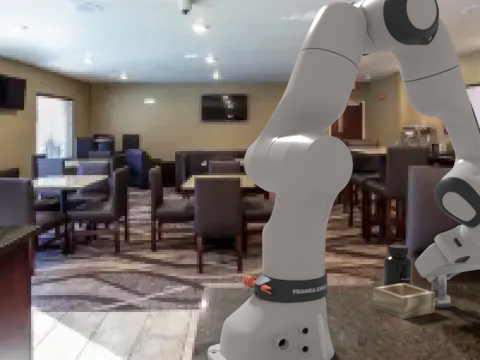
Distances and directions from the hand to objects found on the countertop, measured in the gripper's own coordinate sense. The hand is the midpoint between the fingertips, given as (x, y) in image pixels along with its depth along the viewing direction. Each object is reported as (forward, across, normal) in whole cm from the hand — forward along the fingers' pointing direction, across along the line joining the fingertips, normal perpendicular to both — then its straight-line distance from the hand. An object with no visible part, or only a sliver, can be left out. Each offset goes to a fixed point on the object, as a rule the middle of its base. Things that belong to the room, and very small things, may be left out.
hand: (436, 278), depth 120 cm
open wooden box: (+4, +10, +4) cm, 12 cm away
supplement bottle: (+12, +2, -3) cm, 13 cm away
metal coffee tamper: (+4, 0, +5) cm, 6 cm away
